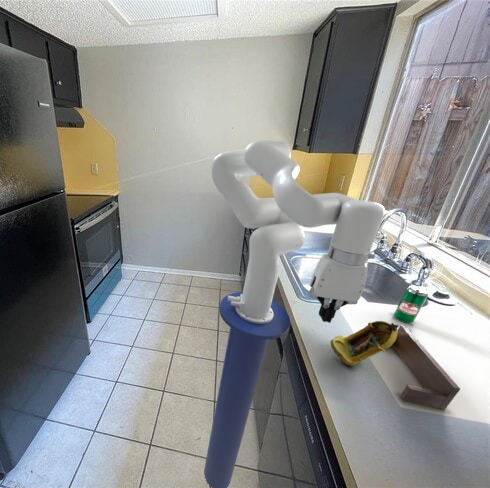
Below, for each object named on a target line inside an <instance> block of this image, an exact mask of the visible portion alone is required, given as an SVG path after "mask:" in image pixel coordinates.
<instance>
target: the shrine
mask: <svg viewBox="0 0 490 488" xmlns="http://www.w3.org/2000/svg"><path fill="white" fill-rule="evenodd" d="M398 329H399V325H398V324H395V323H394V322H391V323H390V322H387V321H385V320H375V321H373V322H371V321H369V322H368V323H367V325H366V326H364V327H363V328H361V329H359V330H358V331H356V332H354V333H352V334H350V335H348V336H343V335H337V336H336V337H334V338H333V339H331V340H330V342H329V343H330V346H331V349H332V350H333V352H334V353H335V354H336V355H337V357H338V358H340V360H341V363H343V364H344V365H345V366H347V367H349V368H352V367H354V366H355V365H357V364H359V362H362V361H364V360H366V359H368V358H371V357H372V356H374V355H377V354H379V353H381V352H386V350H387V349H389V348H390V347H392V346H391V345H392V344H393V343H394V342H395V340H396V338H397V333H398V332H397V331H398Z"/></svg>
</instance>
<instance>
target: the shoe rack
mask: <svg viewBox="0 0 490 488" xmlns="http://www.w3.org/2000/svg"><path fill="white" fill-rule="evenodd" d="M397 332H398V333H397V338H396V340H395V342H394V343H393V344H392V345H391V346H390V347H393V349H394V350H395V351H396V353H397V354H398V356H399V357H400V358H401V360H402V362H404V364H405V365H406V367H407V368H408V369H409V371H410V372H411V374H412V375H413V376H414V377H415V379H416V380H417V381H418V383H419V385H420V386H416V385H411V384H406V385H405V386H404V389H403V390H402V392H401V394H400V395H399V397H400V399H401V400H402V401H403V402H405V403H406V402H407V403H411V404H414V405H415V404H416V405H420V406H425V407H429V408H433V409H438V410H443V411H445V410H446V409H447V408H448V407H449V405H450V404H451V402H452V401H453V400H454V399H455V397H456V396H457V395H458V393H459V392H460V391H461V387H459V386H458V384H457V383H456V382H455V381H454V380H453V378H451V376H450V375H449V374H448V373H447V372H446V370H445V369H444V368H443V367H442V366H441V365H440V364H439V363H438V361H437V360H436V359H435V358H434V357H433V356H432V354H431V353H430V352H429V351H428V350H427V348H425V346H424V345H423V344H422V343H421V342H420V341H419V340H418V339H417V337H415V335H414V334H413V333H412V332H411V331H410V329H409V328H408V327H407V326H406V325H403V324H400V325H399V326H398V328H397Z"/></svg>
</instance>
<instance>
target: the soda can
mask: <svg viewBox="0 0 490 488" xmlns="http://www.w3.org/2000/svg"><path fill="white" fill-rule="evenodd" d="M428 292H429V291H428V290H427V289H426V288H424V287H422V286H419V285H413V284H412V285H409V286H408V287H407V288H406V289H405V290H404V292H403V295H402V297H401V299H400V301H399V303H398V305H397V307H396V309H395V311H394V313H393V316H394V318H395V319H396V320H397V321H399V322H401V323H404V324H413V323H414V322H415V320H416V318H417V316H418V315H419V312H420V311H421V309H422V308H423V305H424V304H425V302H426V300H427V298H428V297H429V294H428Z"/></svg>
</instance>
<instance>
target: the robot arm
mask: <svg viewBox="0 0 490 488" xmlns="http://www.w3.org/2000/svg"><path fill="white" fill-rule="evenodd" d="M291 157H292V151H291V148H290V145H288V143H287V142H285V141H282V140H278V139H277V140H273V139H259V140H255V141H253V142H251V143H249V144H248V145H247V146H246V148H245V149H244V150H229V151H224V152H221V153H218V154H217V155H216V156H215V157H214V158H213V160H212V163H211V168H210V169H211V179H212V181H213V184H214V186H215V187H216V189H217V190H218V192H219V193H220V194H221V195H222V196H223V198H224V200H225V201H226V202H227V204H228V205H229V207H230V209H231V210H232V211H233V213H234V215H235V216H236V218H237V219H238V221H239V223H240V224H241V225H242V226H243V227H244V228H246V229H255V230H254V231H253V232H252V233H251V234H250V237H249V242H248V243H249V244H248V245H249V246H248V247H249V249H248V250H249V257H248V262H247V263H248V264H247V269H246V275H245V280H244V285H243V290H242V292H243V294H241V295H240V297H238V296H237V297H233V296H228V301H230V302H231V305H233V306H235V310H236V312H237V314H238V315H239V316H240V317H242V318H243V319H245V320H246V321H249V322H252V323H256V324H265V323H268V322H270V321H271V320H272V319H273V314H274V313H273V311H272V309H271V308H270V307H271V303H272V300H273V298H274V294H275V290H276V287H277V283H278V279H279V274H280V263H279V257H280V256H282V255H284V254H285V255H286V254H289V253H292V252H296V251H298V250H300V249H301V248H302V247H303V246H304V244H305V240H306V237H305V236H306V235H305V232H304V229H303V228H308V229H309V228H318V227H323V226H331V225H335V228H334V231H333V234H332V237H331V241H330V244H329V247H328V250H327V253H323V254H322V255H321V257H320V259H319V260H318V262H317V264H316V266H315V269H314V271H313V273H312V275H311V278H310V281H309V287H310V289H309V290H308V292H307V295H308V296H309V298H312V299H314V300H317V301H318V302H319V303H320V307H319V310H318V316H319V317H320V318H321V321H322V322H324V323H328V324H331V322H332V320H333V319H334V318H335V316H336V312H337V311H339V310H340V309H341V308H342V307H345V306H347V305H357V304H358V302H359V300H361V297H362V295H363V292H364V289H365V286H366V282H367V277H368V268H369V264H368V261H369V260H374V259H375V257H376V254H375V252H371V251H372V248H373V246H374V243H375V240H376V237H377V235H378V232H379V229H380V227H381V224H382V222H383V219H384V217H385V213H386V209H385V207H384V206H383V205H382V204H380V203H378V202H374V201H371V200H370V201H369V200H363V199H357V198H353V197H351V196H349V195H346V194H343V193H339V192H328V193H325V192H324V193H317V194H316V193H315V194H312V193H310V192H309V191H307V190H306V189H305V188H303V187H302V186H301V185H300V184H299V183H297V182H296V179H297V177H298V176H299V173H300V165H299V164H298V162H297V161H295V160H294V159H292V158H291ZM254 176H258V177H260V179H262V180H263V182H264V181H265V183H266V184H268V185H269V186H270V187H271V188H272V195H273V197H271V196H270V197H258V196H257V195H256V194H255V193H254V192H253V190H252V189H251V187H250V186H249V185H248V184H247V183H246V182H245V181H243V180H241V179H240V178H245V177H254ZM302 227H303V228H302Z"/></svg>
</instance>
